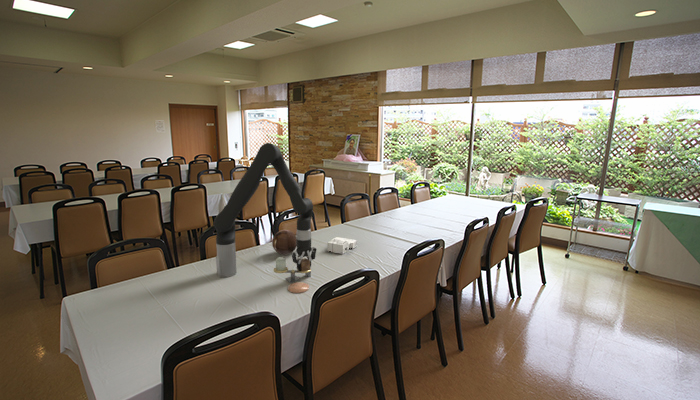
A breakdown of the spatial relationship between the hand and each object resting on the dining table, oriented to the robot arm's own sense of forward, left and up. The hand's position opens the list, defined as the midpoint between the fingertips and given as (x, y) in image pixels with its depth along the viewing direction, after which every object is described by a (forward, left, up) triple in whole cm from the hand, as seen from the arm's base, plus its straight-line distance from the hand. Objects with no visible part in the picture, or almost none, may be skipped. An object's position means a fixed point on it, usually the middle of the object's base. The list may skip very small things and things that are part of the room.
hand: (304, 268), depth 179 cm
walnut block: (0, 0, 0) cm, 0 cm away
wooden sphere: (+6, +36, -5) cm, 37 cm away
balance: (-7, 0, -5) cm, 8 cm away
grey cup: (-13, 0, +3) cm, 13 cm away
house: (+43, +27, -5) cm, 51 cm away
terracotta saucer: (-9, -10, -5) cm, 14 cm away
